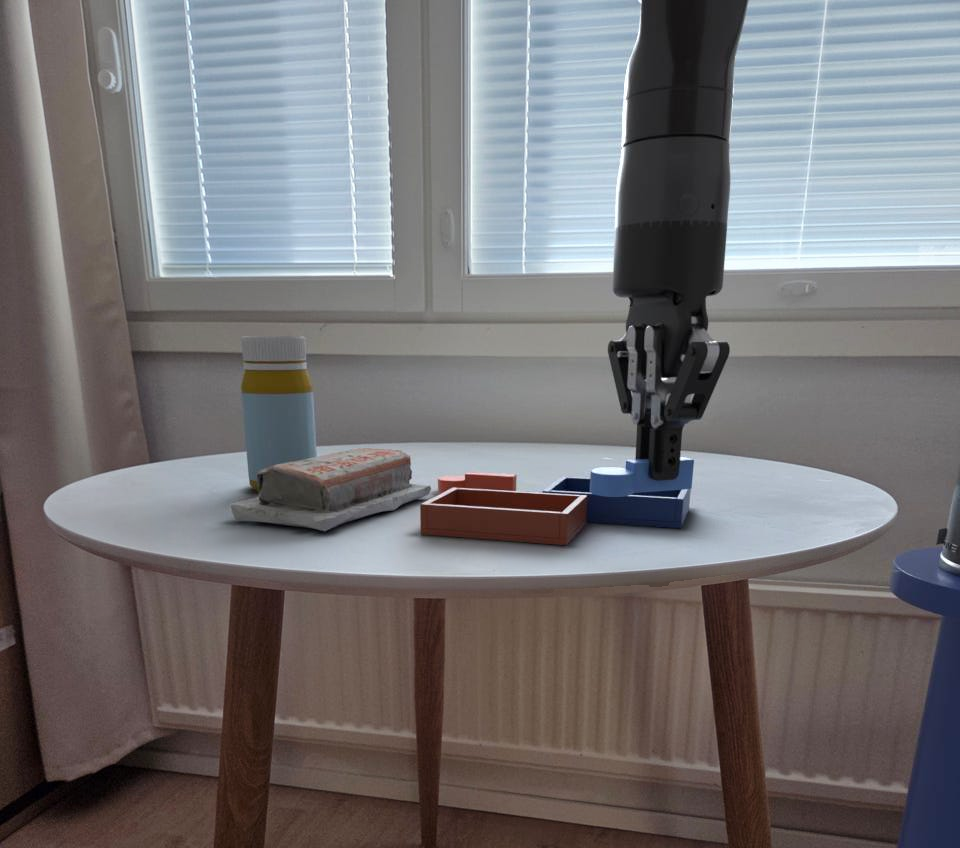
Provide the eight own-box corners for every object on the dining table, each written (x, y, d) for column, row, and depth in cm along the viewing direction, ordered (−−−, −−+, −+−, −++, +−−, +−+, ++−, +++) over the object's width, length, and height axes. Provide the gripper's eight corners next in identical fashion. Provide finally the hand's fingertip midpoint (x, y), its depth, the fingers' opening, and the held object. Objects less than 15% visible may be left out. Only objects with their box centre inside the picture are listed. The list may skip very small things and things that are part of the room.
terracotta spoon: (518, 494, 88) (519, 473, 87) (510, 500, 85) (510, 477, 85) (444, 490, 90) (443, 469, 90) (433, 495, 88) (433, 473, 87)
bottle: (323, 483, 94) (315, 336, 89) (312, 495, 87) (302, 337, 82) (259, 483, 94) (246, 336, 89) (242, 494, 87) (228, 336, 82)
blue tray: (688, 510, 81) (691, 483, 80) (681, 528, 74) (683, 499, 73) (560, 502, 85) (561, 476, 84) (541, 518, 77) (541, 490, 76)
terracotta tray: (586, 524, 75) (587, 495, 74) (566, 545, 68) (567, 513, 67) (452, 514, 79) (452, 487, 78) (420, 534, 71) (419, 504, 71)
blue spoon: (675, 483, 68) (678, 454, 67) (698, 491, 65) (701, 461, 64) (582, 489, 65) (583, 460, 64) (601, 498, 62) (603, 467, 62)
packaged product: (345, 442, 89) (431, 448, 85) (347, 489, 90) (431, 498, 86) (224, 466, 74) (322, 475, 69) (229, 522, 75) (325, 534, 71)
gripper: (780, 211, 54) (753, 488, 60) (667, 232, 66) (654, 462, 72) (675, 207, 52) (658, 496, 58) (577, 230, 64) (572, 467, 70)
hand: (656, 476), depth 65 cm, fingers closed on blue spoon, 1 cm apart
